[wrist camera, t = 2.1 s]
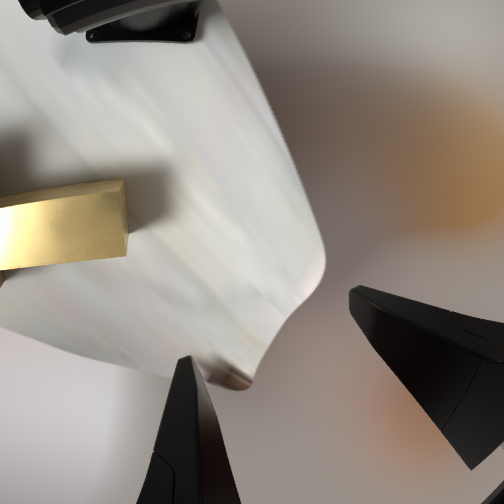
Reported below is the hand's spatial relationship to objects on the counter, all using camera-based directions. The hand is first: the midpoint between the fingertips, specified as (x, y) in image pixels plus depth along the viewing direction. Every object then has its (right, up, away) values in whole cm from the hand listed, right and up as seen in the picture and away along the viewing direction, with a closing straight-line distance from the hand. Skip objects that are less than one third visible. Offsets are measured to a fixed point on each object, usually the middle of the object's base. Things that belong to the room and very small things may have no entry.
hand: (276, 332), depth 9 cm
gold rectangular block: (-14, +4, +5) cm, 15 cm away
